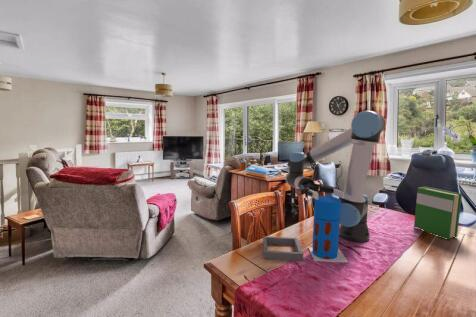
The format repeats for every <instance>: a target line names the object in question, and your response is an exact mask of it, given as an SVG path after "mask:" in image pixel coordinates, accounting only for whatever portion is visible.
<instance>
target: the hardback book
mask: <svg viewBox="0 0 476 317" xmlns="http://www.w3.org/2000/svg"><path fill="white" fill-rule="evenodd" d="M416 193H417V194H416V204H415V214H414V222H413V223H414V224H413V228H414V227H418V228H420V229H423V230H424V231H426V232H429V233H432V234H435V235H438V236H441V237H444V238H447V239H451V238H453V237H454V236H455V237H457V238H458V232H459V231H458V230H459V223H460V222H459V221H460V214H461V207H462V206H461V205H462V204H461V203H462V196H463V194H462V193H461V192H460V193H459V192H454V191H450V190H445V189H440V188H434V187H430V186H421V187H417V192H416ZM426 232H425V233H426ZM429 233H428V234H429ZM432 234H431V235H432ZM435 235H434V236H435ZM438 236H437V237H438ZM441 237H440V238H441ZM444 238H443V239H444Z"/></svg>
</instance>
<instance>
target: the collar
mask: <svg viewBox="0 0 476 317" xmlns="http://www.w3.org/2000/svg"><path fill="white" fill-rule="evenodd" d="M262 238H263V239H262V246H263V259H264V260H282V261H284V260H285V261H299V260H301V262H303V261H304V252H303V250H302V246H301V244H300V242H299V240H298V237H285V236H263V237H262ZM268 245H287V246H294V248H295V251H281V250H280V251H279V250H268Z"/></svg>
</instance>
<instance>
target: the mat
mask: <svg viewBox="0 0 476 317" xmlns="http://www.w3.org/2000/svg"><path fill="white" fill-rule="evenodd" d="M308 250H309V252H310V255H311V257H312V259H313V261H314V262H329V263H344V264H345V263H349V260H348V259H347V258H346V256H345V255H344V253H343V252H342V251H341V249H340V248H339V247H338V253H337V257H336V258H334V259H322V258H319V257H317V256H315V255H314V254H313V246H308Z"/></svg>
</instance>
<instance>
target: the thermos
mask: <svg viewBox="0 0 476 317" xmlns="http://www.w3.org/2000/svg"><path fill="white" fill-rule="evenodd" d="M313 206H314V208H313V209H314V210H313V224H312V225H313V228H312V229H313V230H312V247H313V254H314V255H315V256H317V257H319V258H322V259H334V258H336V257H337V253H338V248H339V240H340V236H339V227H340V225H341V224H340V211H341V200H340V199H339V197H338V198H337V197H334V196H328V195H321V196H320V195H318V199H315V198H314V205H313Z"/></svg>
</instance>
